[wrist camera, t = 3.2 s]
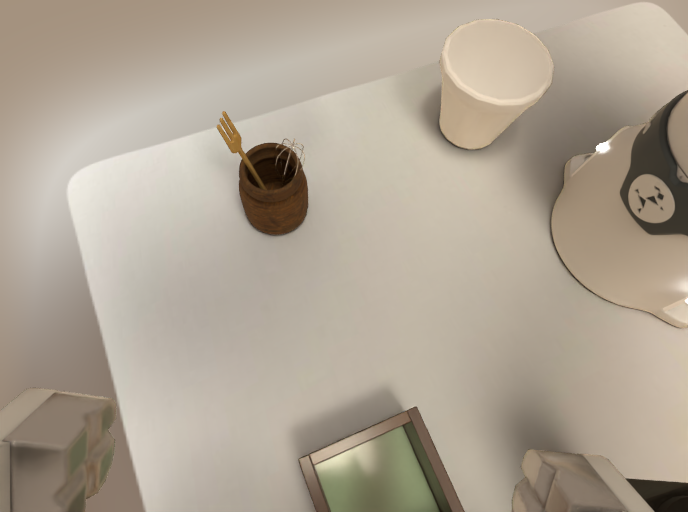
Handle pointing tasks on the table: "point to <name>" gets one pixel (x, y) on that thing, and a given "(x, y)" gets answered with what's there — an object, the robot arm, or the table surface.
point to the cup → (489, 80)
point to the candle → (662, 494)
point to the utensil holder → (269, 183)
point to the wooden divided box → (381, 471)
